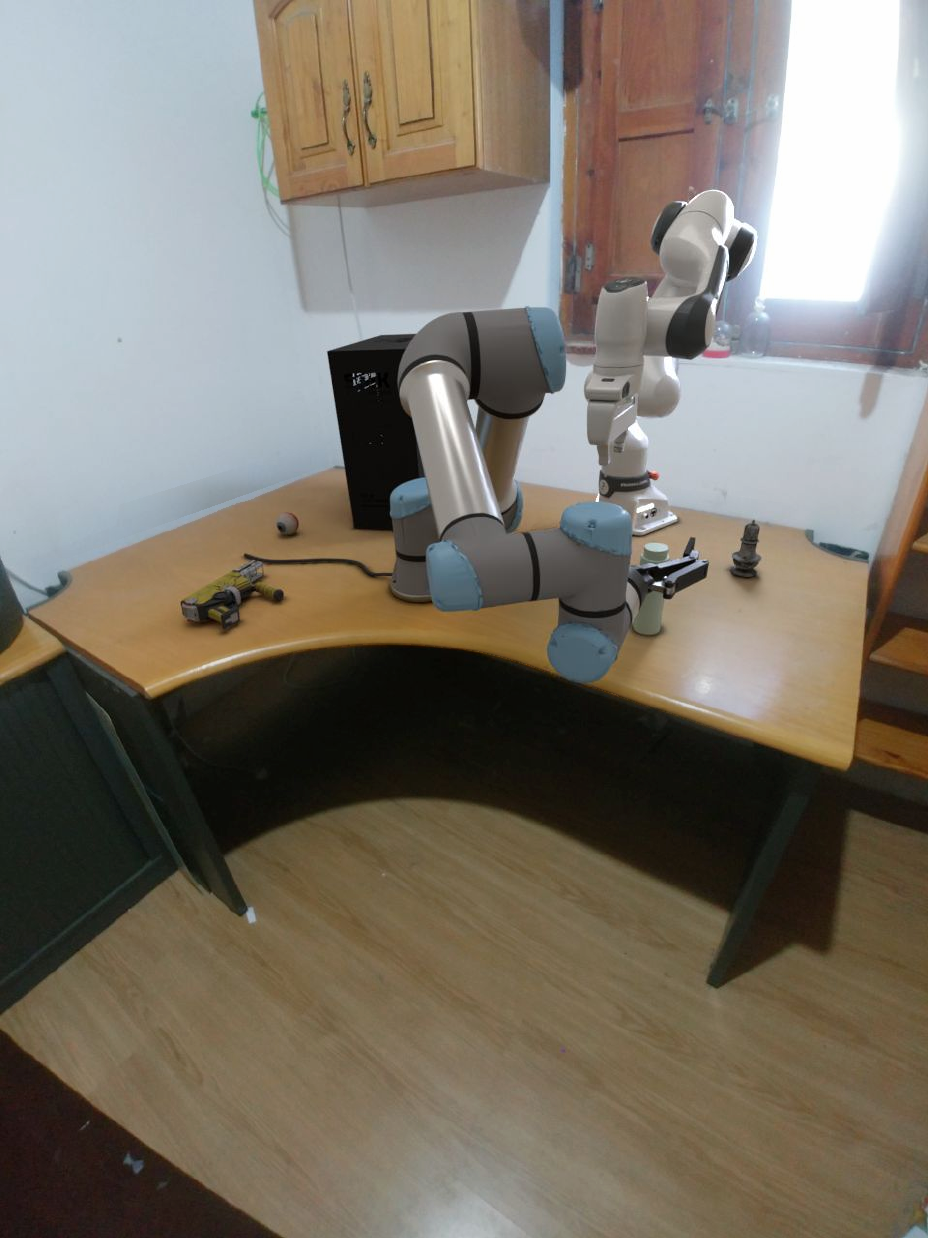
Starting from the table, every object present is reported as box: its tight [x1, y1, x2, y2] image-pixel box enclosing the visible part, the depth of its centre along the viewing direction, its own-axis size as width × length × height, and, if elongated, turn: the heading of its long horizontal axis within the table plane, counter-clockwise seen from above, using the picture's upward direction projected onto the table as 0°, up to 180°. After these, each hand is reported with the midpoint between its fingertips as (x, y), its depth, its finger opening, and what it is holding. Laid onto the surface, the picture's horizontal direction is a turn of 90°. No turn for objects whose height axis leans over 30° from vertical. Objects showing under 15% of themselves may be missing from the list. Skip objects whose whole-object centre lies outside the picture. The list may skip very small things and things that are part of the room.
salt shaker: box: [730, 519, 762, 578], centre depth 129 cm, size 6×6×12 cm
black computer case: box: [326, 333, 425, 531], centre depth 169 cm, size 38×20×45 cm, turn 167°
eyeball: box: [275, 511, 300, 536], centre depth 163 cm, size 6×6×6 cm
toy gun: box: [179, 559, 285, 630], centre depth 130 cm, size 5×24×15 cm
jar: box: [632, 542, 670, 636], centre depth 109 cm, size 5×5×17 cm
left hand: (646, 539), depth 95 cm, fingers open, 13 cm apart
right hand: (611, 458), depth 116 cm, fingers open, 8 cm apart
